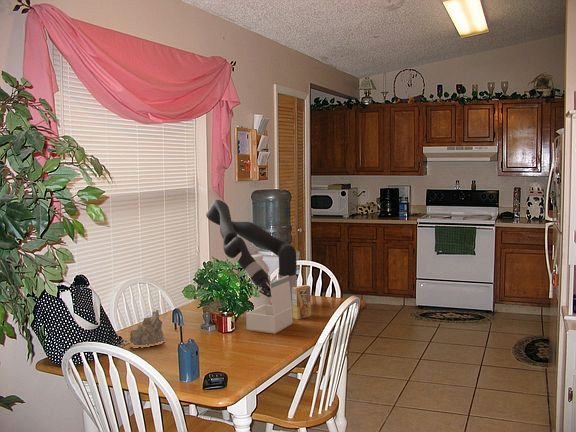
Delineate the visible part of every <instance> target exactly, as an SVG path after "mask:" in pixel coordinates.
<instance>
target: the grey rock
mask: <svg viewBox="0 0 576 432" xmlns="http://www.w3.org/2000/svg"><path fill="white" fill-rule="evenodd" d="M159 312H160V310H159V309H156V310H155V311H154V310H153V311H152V313H151V316H148V317H144V318H143V321H142V324H141V323H139V324H138V326H137V327H136V329H132V330H131V331H130V333H129V341H130V343H133V344H134V345H146V344H147V345H149V344H155V343H158V342H161V341H164V339H166V337H165V336H164V331H163V330H162V326H163V321H162V320H161V319H160V313H159Z"/></svg>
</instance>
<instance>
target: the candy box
mask: <svg viewBox="0 0 576 432" xmlns="http://www.w3.org/2000/svg"><path fill="white" fill-rule="evenodd" d="M311 305H312V304H311V285H308V284H303V285H297V287H293V288H292V319H294V320H301V319H304V318H309V317H311V316H312V312H311V311H312V306H311Z"/></svg>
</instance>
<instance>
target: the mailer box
mask: <svg viewBox="0 0 576 432" xmlns="http://www.w3.org/2000/svg"><path fill="white" fill-rule="evenodd" d="M245 316H246V317H245V321H246V325H245V326H246V331H252V332H260V333H265V334H266V333H268V334H273V335H276V334H277V333H280V331H283V330H284V329H286V328H288V327H290V326H291V325H293V321H294V320H293V312H292V307H290V308H288V309H286V310H285V311H283V312H281V313H279V314H277V315H275V316H273V308H272V304H271V305H266V304H264V305H262V306H260V307H258V308H256V309H254V310H252V311H251V310H248V311H247V312H245Z"/></svg>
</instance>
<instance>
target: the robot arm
mask: <svg viewBox="0 0 576 432" xmlns="http://www.w3.org/2000/svg"><path fill="white" fill-rule="evenodd" d="M205 216H206V218H207V219H208V221H210V222H212V223H214V224H215V225H218V226H219V232H220V236H221V237H222V240H223V242H222V243H223V251H224V254H225V256H226V257H227V258H230V259H234V258H236V257H237V256H238V255H239V254H240V253H241V255H240V257H239V259H238V260H237V261H238V262H237V263H238V264H239V266H240V267H241V269H242V270H243V272H244V271H245V272H246V273H245V272H244V273H245V274H247V275H248V277H249V278H250V279H251V280H252V282H253V283H254V284H255V285H256V286H259V288H260V290H259V292H260V293H262V294H263V295H265V296H267V297H271V289H270V282H272V281H271V279H270V280H269V279H268V275H269V273H268V274H267V273H266V272H265V271H264V270H263V268H262V267H261V266H260V265H259V264H258V263H257V262H256V261H255V260H254V258H253V257H252V256H251V255H252V254H251V253H250V250H249V248H248V247H247V244H246V242H245V240H246V241H248V242H250V243H251V244H253V245H256V246H258V247H261V248H264V249H266V250H268V251H270V252H272V253H273V255H276V256H277V257H278V279H280V278H283V277H285V276H288V275H289V283H290V293H291V302H292V288H293V287H298V285H297V265H298V264H297V250H296V249H295V247H294V246H293V245H292V244H290V243H288V242H285V241H283V240H280V238H279V239H278V238H276V237H275V236H273V235H272V234H271V233H269V232H268V231H266V230H265V229H264V228H262V227H260V226H259V225H257V224H255V223H253V222H251V221H232V217H231V216H232V215H231V212H230V207H229V206H228V204H227V203H226V202H225V201H223V200H222V199H214V201H213V202H211V205H210V206H209V208H208V210H207V212H206V214H205Z"/></svg>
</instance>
